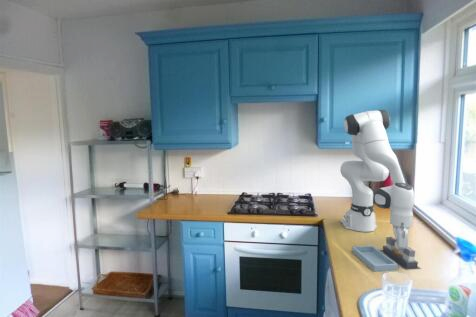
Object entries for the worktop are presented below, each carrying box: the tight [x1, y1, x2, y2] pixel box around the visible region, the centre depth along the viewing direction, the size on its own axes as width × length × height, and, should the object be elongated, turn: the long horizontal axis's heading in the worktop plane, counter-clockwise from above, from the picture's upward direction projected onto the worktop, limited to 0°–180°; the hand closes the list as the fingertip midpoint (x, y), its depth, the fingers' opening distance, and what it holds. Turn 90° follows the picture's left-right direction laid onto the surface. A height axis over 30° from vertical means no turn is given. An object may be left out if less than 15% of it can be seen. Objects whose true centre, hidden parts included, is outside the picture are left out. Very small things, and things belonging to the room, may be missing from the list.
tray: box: [351, 245, 399, 273], centre depth 142 cm, size 20×10×4 cm, turn 6°
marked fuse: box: [394, 242, 404, 256], centre depth 143 cm, size 4×2×7 cm, turn 6°
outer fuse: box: [403, 246, 416, 262], centre depth 137 cm, size 4×2×7 cm, turn 6°
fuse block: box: [379, 245, 422, 271], centre depth 144 cm, size 20×7×4 cm, turn 6°
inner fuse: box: [385, 236, 396, 250], centre depth 149 cm, size 4×2×7 cm, turn 6°
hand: (399, 250), depth 143 cm, fingers closed on marked fuse, 5 cm apart
